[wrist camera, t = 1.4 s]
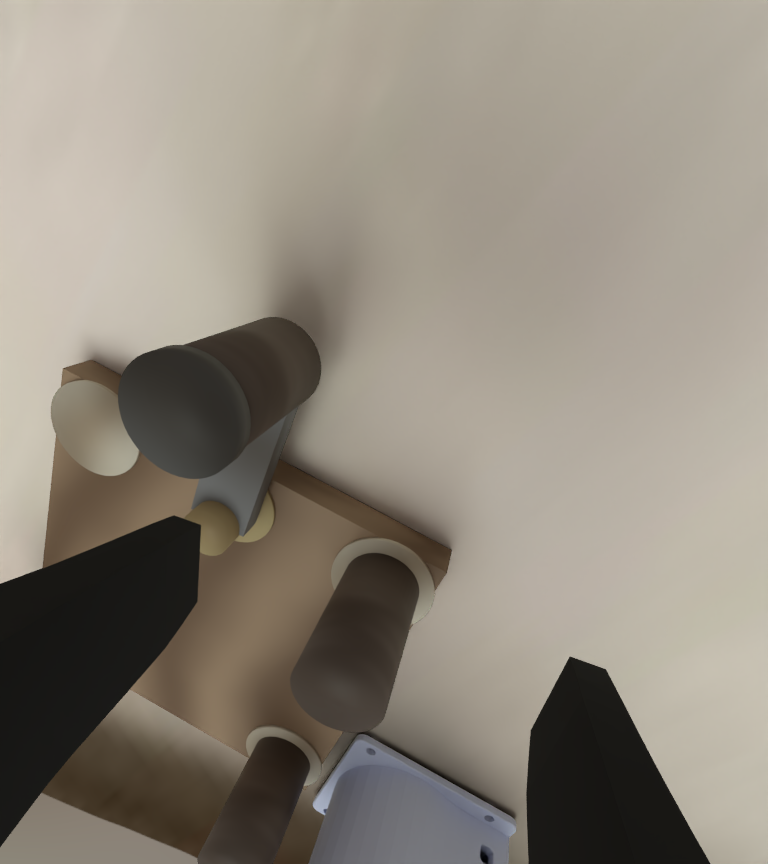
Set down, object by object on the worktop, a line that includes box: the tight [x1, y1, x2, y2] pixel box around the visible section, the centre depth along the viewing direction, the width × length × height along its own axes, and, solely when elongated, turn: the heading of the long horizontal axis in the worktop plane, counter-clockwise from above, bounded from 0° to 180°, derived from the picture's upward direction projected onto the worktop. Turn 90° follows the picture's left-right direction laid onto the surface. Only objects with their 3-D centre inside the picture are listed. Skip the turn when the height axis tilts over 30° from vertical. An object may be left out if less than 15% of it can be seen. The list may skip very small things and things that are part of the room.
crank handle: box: [118, 317, 321, 556], centre depth 16 cm, size 10×3×6 cm, turn 157°
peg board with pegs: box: [43, 360, 452, 864], centre depth 22 cm, size 18×18×7 cm
